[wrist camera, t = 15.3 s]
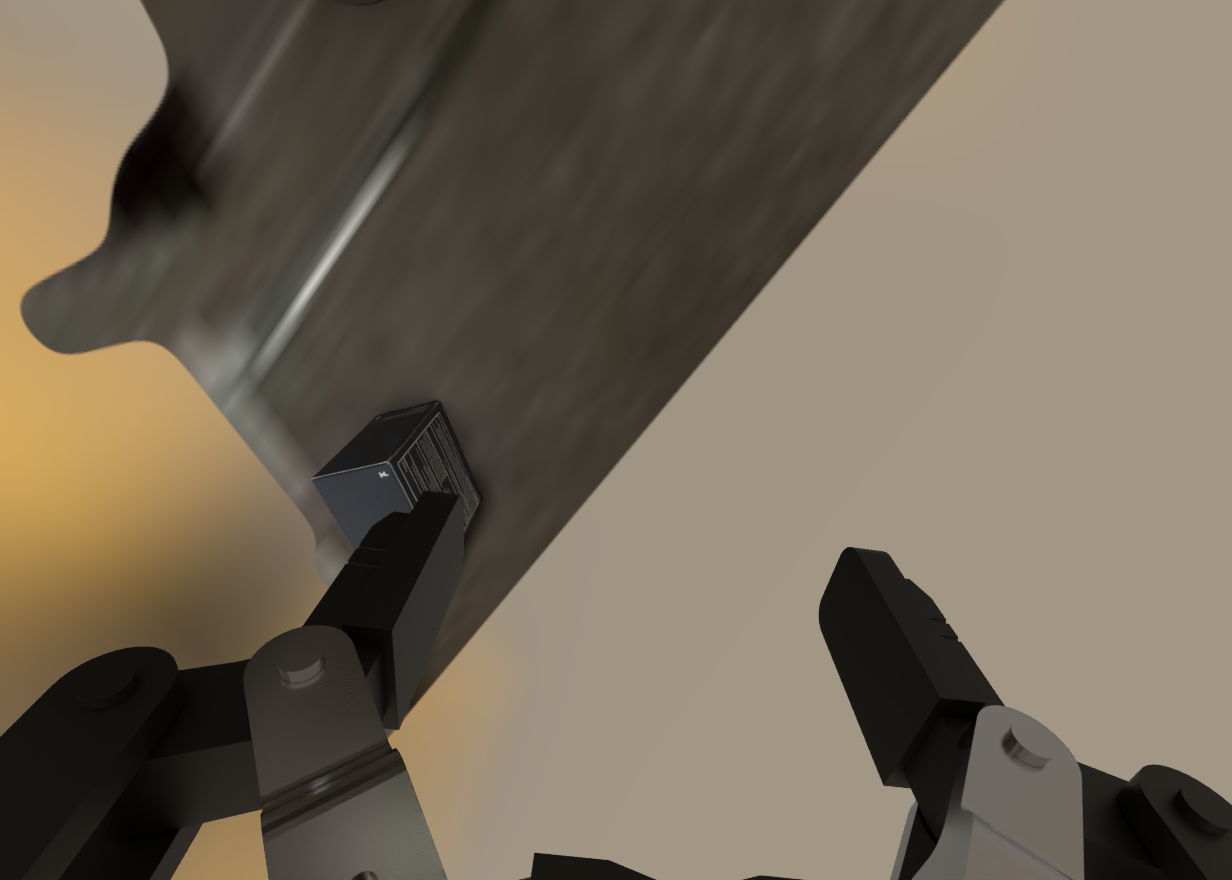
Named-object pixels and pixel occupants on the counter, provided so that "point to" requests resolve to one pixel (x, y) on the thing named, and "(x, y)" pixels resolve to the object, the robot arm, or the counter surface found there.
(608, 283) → the counter surface
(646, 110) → the counter surface
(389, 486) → the small box
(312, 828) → the robot arm
